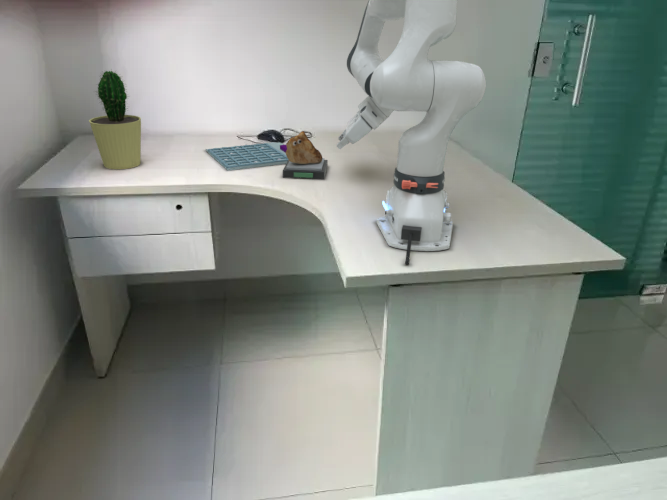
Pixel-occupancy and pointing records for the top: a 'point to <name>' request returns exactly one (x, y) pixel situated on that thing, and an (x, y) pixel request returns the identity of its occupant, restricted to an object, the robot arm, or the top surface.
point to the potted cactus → (116, 126)
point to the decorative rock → (302, 150)
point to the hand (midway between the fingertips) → (338, 143)
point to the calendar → (250, 155)
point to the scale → (305, 170)
